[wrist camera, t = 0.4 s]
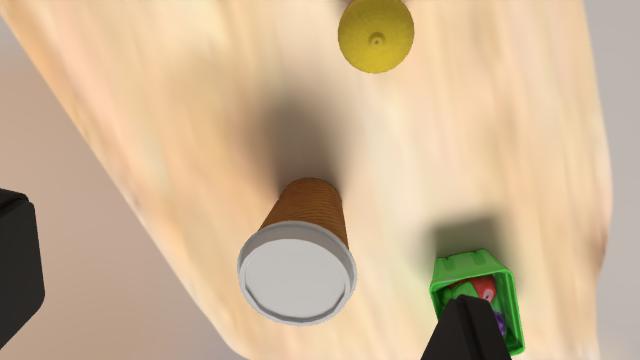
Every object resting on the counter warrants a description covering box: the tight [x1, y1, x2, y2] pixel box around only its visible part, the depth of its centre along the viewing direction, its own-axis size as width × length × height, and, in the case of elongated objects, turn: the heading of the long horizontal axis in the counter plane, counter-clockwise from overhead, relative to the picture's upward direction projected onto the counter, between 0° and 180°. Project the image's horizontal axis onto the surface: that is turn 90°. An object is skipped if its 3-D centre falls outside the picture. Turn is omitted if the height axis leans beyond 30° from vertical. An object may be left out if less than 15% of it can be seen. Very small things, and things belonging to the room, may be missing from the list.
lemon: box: [338, 0, 414, 73], centre depth 31 cm, size 6×6×8 cm
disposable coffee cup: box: [237, 178, 357, 326], centre depth 37 cm, size 10×10×12 cm
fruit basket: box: [429, 249, 525, 356], centre depth 41 cm, size 11×9×11 cm
